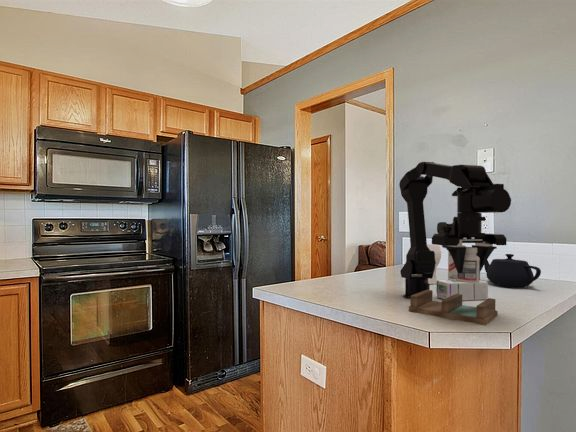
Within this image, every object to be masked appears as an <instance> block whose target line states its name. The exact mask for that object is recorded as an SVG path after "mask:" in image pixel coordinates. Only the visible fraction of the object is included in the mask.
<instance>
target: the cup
mask: <svg viewBox="0 0 576 432" xmlns="http://www.w3.org/2000/svg"><path fill="white" fill-rule="evenodd" d="M427 247H428V248H429V249H430V251H434V253H435V261H436V264H435V270H434V273H433V277H432V279H430V278H428V283H429V284H430V285H434V284H436V285H437V280H438V279H437V267H438V266H439V264H440V263H441V259H442V250H441V245H435V244H430V243H429V244H428V243H427ZM416 275H419V274H416Z"/></svg>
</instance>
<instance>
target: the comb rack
mask: <svg viewBox="0 0 576 432" xmlns="http://www.w3.org/2000/svg"><path fill="white" fill-rule="evenodd" d="M433 296H434V295H433V289H430V290H425V291H422V292H420V293H417V294H414V295H411V298H410V304H409V306H408V312H412V311H413V313H419V314H424V315H430V316H435V317H439V318H445V319H450V320H456V321H462V322H467V323H474V324H477V325H478V324H479V325H482V326H483V325H484V326H487V325H489V323H490V322H492V321H493V320H494V319H495V318H496V317H497V316H498V310H497V309H496V299H495V298H491V297H488V299H486V300H484V301H483V300H482V302H481V303H479V304H477V305H476V306H473V305H472V306H471V305H465V304H463V301H462V294H455V295H452V296H450V297H448V298H446V299H444V300H443V299H441V301H437V300H433Z"/></svg>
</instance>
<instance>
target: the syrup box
mask: <svg viewBox="0 0 576 432" xmlns="http://www.w3.org/2000/svg"><path fill="white" fill-rule="evenodd" d="M488 284H489V282H488V281H485V280H482V279H480V282H478V283H467V282H461V281H458V280H448V279H437V283H436V288H435V289H436V298H439V299H440V300H444V299H446V298H448V297H450V296H452V295H455V294H462V302H463V301H480V300H481V301H483V300H484V301H485V300H487V299H488V298H489V295H488V293H489V292H488V291H489V285H488Z"/></svg>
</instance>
